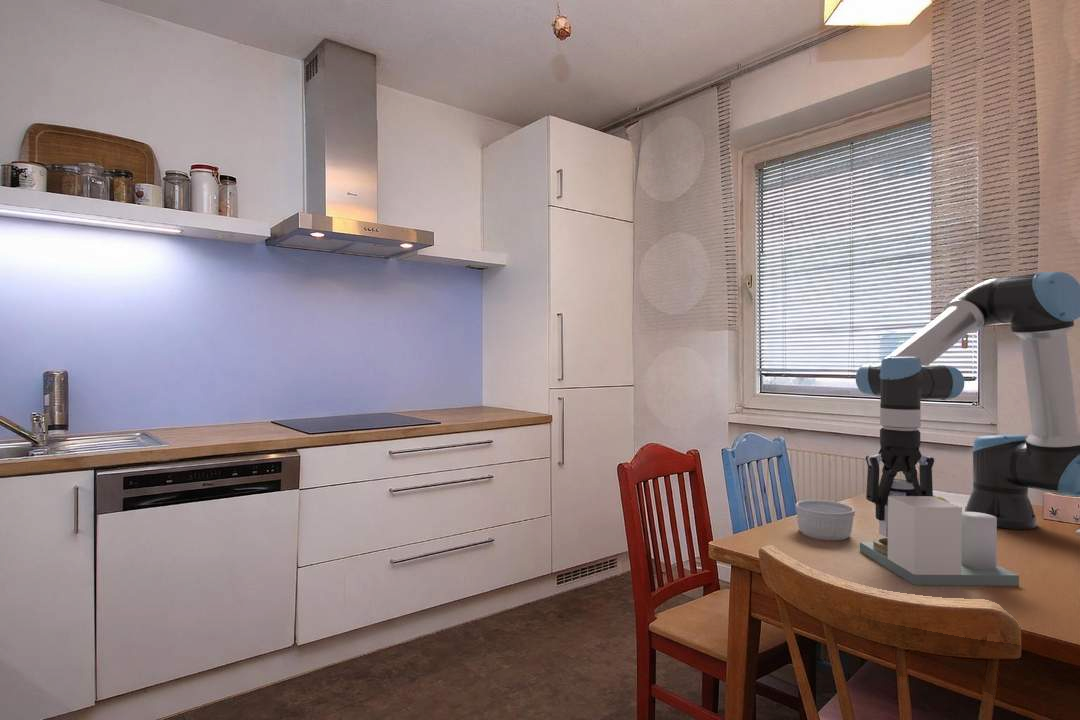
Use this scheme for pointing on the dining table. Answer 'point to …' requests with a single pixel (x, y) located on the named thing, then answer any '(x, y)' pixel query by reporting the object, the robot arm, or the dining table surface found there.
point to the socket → (881, 544)
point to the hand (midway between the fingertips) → (899, 535)
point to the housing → (925, 535)
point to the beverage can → (901, 488)
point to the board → (945, 579)
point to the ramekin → (825, 519)
